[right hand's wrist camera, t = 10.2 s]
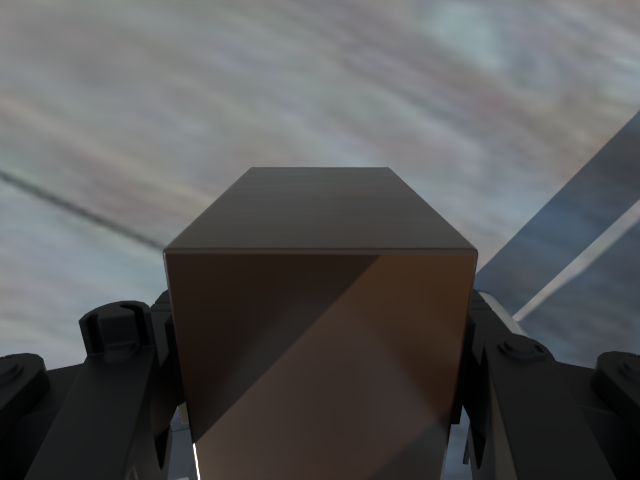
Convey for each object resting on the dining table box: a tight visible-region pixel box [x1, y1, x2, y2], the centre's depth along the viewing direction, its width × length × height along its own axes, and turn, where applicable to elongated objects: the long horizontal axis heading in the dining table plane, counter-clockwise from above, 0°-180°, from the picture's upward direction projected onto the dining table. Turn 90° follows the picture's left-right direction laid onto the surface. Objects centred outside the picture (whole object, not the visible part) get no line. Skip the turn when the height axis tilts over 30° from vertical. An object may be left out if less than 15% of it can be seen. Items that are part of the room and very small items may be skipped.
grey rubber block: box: [167, 429, 198, 480], centre depth 32 cm, size 5×5×5 cm
